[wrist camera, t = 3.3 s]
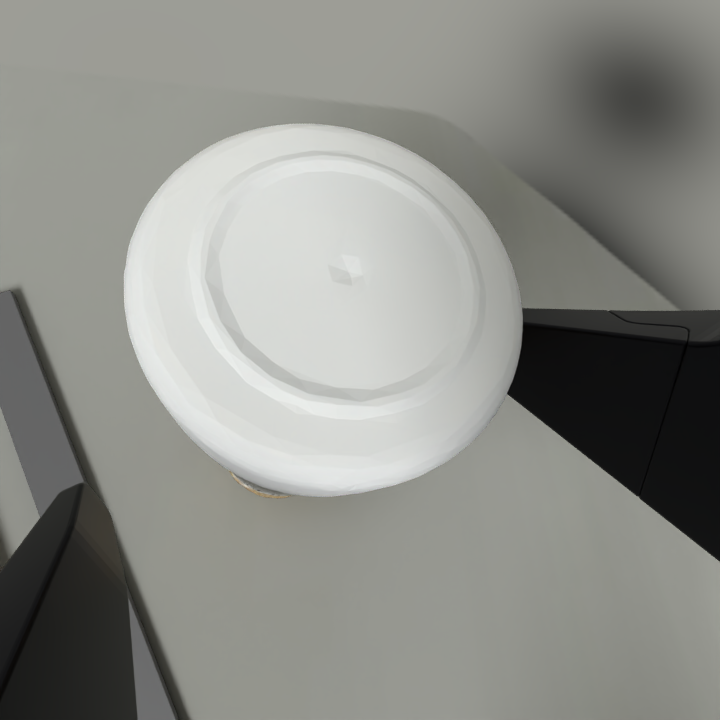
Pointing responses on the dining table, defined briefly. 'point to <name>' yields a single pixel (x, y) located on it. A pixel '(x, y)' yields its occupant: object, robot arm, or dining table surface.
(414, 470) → the sprinkles bottle
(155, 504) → the dining table surface
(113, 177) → the dining table surface
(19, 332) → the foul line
